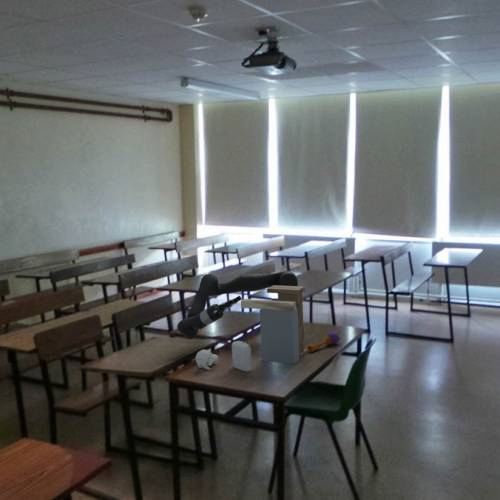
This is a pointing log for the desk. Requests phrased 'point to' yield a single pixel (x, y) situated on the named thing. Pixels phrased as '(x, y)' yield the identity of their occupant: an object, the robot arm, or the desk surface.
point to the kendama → (325, 341)
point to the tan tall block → (296, 295)
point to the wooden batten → (268, 304)
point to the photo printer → (241, 356)
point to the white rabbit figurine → (206, 359)
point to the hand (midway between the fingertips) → (236, 299)
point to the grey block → (279, 336)
